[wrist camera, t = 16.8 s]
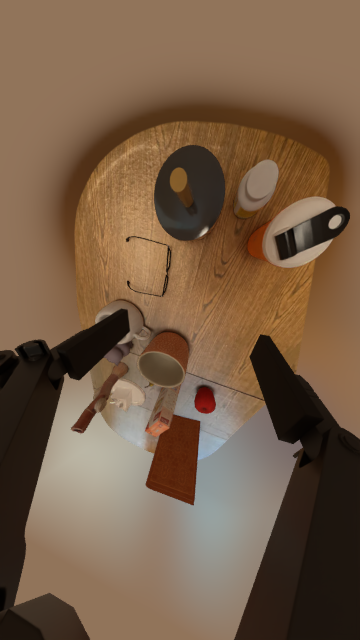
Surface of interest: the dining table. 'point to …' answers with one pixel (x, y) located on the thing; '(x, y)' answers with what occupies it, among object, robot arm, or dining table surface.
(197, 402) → the apple
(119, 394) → the dish
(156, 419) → the cracker box
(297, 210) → the shaker bottle
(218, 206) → the lid
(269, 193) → the pill bottle
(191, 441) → the book
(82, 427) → the vase
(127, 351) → the cat figurine
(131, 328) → the mug
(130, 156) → the dining table surface
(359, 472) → the robot arm
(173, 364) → the planter
